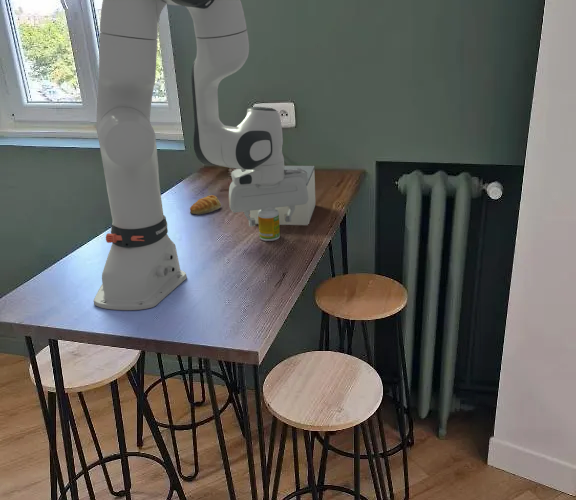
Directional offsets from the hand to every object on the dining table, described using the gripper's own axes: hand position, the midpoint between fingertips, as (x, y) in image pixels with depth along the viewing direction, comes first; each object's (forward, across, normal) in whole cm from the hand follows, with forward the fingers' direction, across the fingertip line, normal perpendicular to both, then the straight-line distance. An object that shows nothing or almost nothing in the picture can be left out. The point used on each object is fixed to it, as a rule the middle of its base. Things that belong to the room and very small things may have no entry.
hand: (270, 223), depth 156 cm
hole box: (+4, -7, -16) cm, 18 cm away
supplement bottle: (+4, 0, 0) cm, 4 cm away
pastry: (+4, +15, -27) cm, 31 cm away
